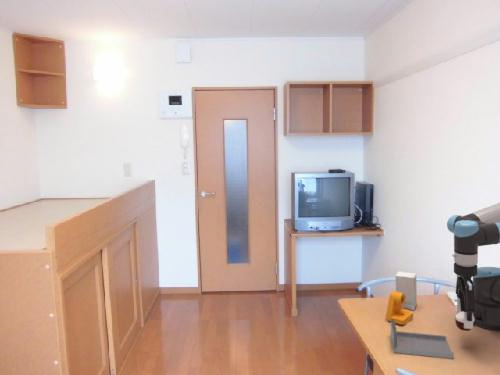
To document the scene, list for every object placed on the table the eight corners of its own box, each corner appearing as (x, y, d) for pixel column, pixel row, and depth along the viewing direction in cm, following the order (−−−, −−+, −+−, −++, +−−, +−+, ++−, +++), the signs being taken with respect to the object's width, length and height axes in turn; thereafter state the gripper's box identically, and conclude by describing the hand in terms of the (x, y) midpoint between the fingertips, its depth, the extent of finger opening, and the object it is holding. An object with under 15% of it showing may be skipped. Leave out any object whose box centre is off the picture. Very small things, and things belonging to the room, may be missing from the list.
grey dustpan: (445, 340, 150) (446, 323, 149) (453, 358, 138) (454, 340, 137) (390, 335, 155) (390, 318, 154) (393, 352, 143) (393, 334, 142)
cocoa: (471, 336, 140) (473, 305, 137) (452, 331, 144) (453, 301, 141) (476, 324, 147) (477, 294, 145) (457, 319, 151) (459, 291, 148)
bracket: (402, 327, 162) (403, 299, 160) (386, 321, 167) (386, 294, 165) (413, 318, 169) (414, 291, 168) (397, 313, 174) (397, 287, 173)
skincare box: (416, 305, 181) (417, 273, 179) (414, 311, 175) (415, 277, 173) (397, 301, 185) (398, 270, 183) (394, 307, 180) (395, 274, 178)
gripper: (447, 253, 153) (446, 307, 156) (461, 274, 132) (461, 335, 135) (468, 254, 151) (467, 308, 154) (486, 274, 130) (485, 337, 133)
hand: (464, 321), depth 144 cm, fingers closed on cocoa, 9 cm apart
